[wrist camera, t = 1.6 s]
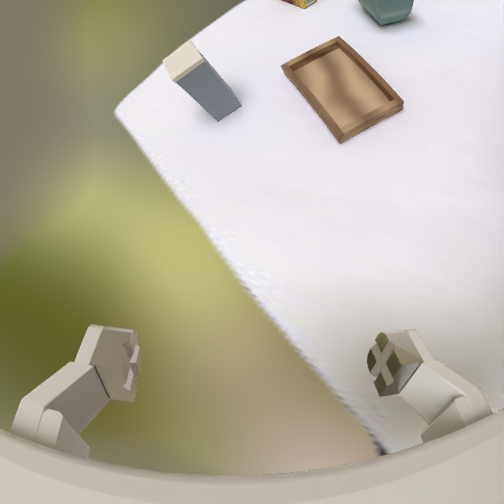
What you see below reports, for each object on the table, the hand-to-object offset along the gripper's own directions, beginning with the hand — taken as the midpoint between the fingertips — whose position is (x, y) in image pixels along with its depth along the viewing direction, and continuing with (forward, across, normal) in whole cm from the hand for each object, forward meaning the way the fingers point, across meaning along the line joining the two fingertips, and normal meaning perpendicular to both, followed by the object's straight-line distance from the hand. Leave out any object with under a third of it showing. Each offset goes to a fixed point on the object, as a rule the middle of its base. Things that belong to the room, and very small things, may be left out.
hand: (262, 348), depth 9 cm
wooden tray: (+42, -16, -10) cm, 46 cm away
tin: (+49, +2, -4) cm, 50 cm away
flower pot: (+49, -26, -28) cm, 62 cm away
